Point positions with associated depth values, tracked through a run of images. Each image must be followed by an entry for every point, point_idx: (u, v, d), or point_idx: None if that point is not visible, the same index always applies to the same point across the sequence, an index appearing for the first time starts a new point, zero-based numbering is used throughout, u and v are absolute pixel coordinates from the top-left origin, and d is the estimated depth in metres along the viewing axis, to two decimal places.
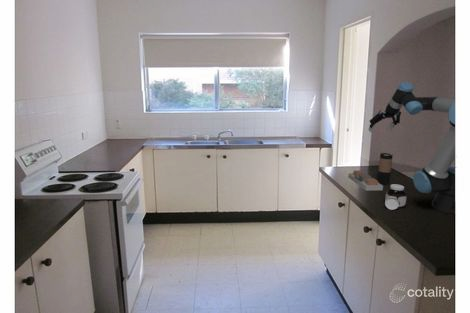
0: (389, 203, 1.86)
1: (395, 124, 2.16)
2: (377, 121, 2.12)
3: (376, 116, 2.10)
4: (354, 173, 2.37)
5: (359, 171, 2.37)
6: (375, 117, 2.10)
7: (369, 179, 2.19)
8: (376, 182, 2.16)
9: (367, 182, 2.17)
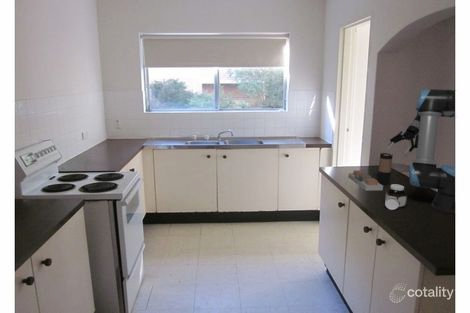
0: (389, 203, 1.86)
1: (411, 145, 2.22)
2: (395, 139, 2.34)
3: None
4: (354, 173, 2.37)
5: (359, 171, 2.37)
6: None
7: (369, 179, 2.19)
8: (376, 182, 2.16)
9: (367, 182, 2.17)
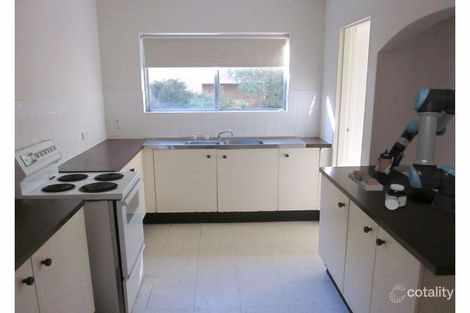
0: (389, 203, 1.86)
1: None
2: None
3: None
4: (354, 173, 2.37)
5: (359, 171, 2.37)
6: None
7: (369, 179, 2.19)
8: (376, 182, 2.16)
9: (367, 182, 2.17)
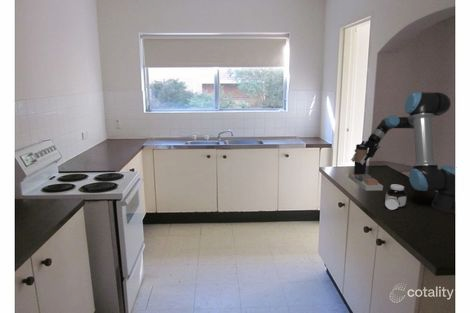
0: (389, 203, 1.86)
1: (366, 154, 2.29)
2: None
3: None
4: None
5: None
6: None
7: (369, 179, 2.19)
8: (376, 182, 2.16)
9: (367, 182, 2.17)
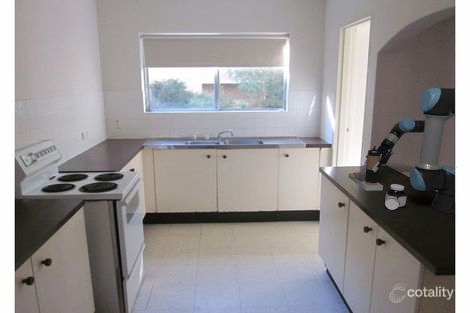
0: (389, 203, 1.86)
1: (379, 161, 2.11)
2: None
3: None
4: None
5: (359, 173, 2.37)
6: None
7: None
8: (376, 184, 2.16)
9: (367, 184, 2.18)
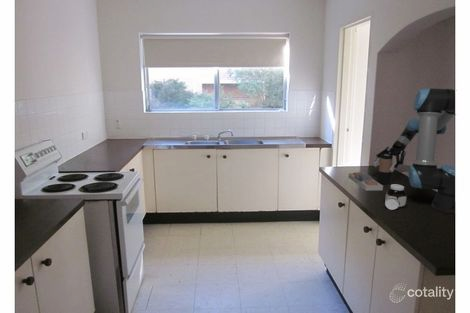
0: (389, 203, 1.86)
1: None
2: None
3: None
4: None
5: (359, 173, 2.37)
6: None
7: (368, 181, 2.19)
8: (376, 184, 2.16)
9: (367, 184, 2.18)
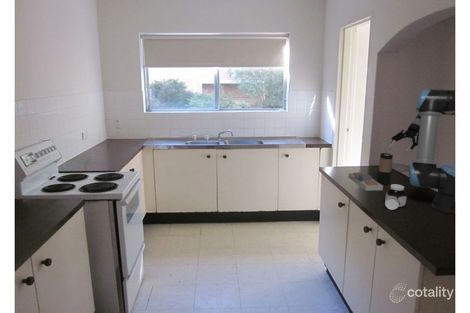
0: (389, 203, 1.86)
1: (413, 143, 2.22)
2: (397, 137, 2.35)
3: None
4: None
5: (359, 173, 2.37)
6: None
7: (368, 181, 2.19)
8: (376, 184, 2.16)
9: (367, 184, 2.18)
